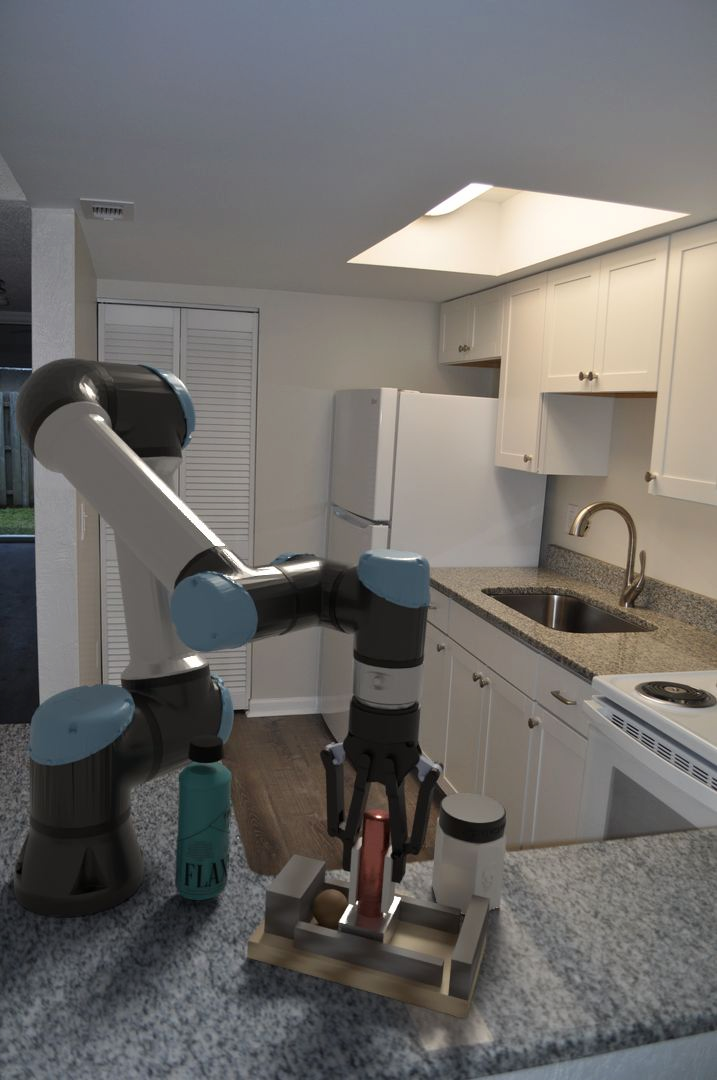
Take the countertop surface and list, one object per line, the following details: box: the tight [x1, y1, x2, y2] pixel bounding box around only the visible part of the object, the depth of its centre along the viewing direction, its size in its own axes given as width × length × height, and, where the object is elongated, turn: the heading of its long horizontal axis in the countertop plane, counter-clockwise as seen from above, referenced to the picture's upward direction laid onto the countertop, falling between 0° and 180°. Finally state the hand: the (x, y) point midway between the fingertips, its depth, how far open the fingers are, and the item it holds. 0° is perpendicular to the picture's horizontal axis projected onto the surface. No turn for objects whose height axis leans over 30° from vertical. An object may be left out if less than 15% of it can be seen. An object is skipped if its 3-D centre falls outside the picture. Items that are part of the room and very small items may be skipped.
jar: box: [431, 792, 507, 914], centre depth 101 cm, size 9×8×12 cm
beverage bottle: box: [173, 735, 233, 901], centre depth 97 cm, size 6×7×20 cm
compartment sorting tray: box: [246, 853, 490, 1020], centre depth 90 cm, size 24×12×7 cm, turn 72°
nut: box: [313, 889, 349, 929], centre depth 91 cm, size 4×4×4 cm
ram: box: [338, 808, 401, 944], centre depth 89 cm, size 5×7×14 cm
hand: (371, 901), depth 89 cm, fingers closed on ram, 3 cm apart
